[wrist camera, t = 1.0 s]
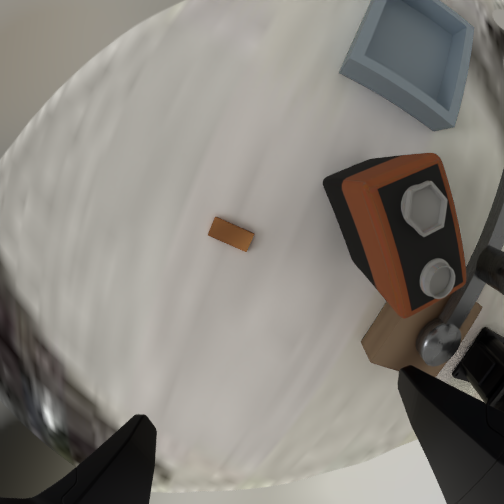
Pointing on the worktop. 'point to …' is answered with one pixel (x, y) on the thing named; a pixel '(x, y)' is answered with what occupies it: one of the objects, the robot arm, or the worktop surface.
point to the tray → (413, 58)
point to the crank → (467, 289)
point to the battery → (401, 228)
